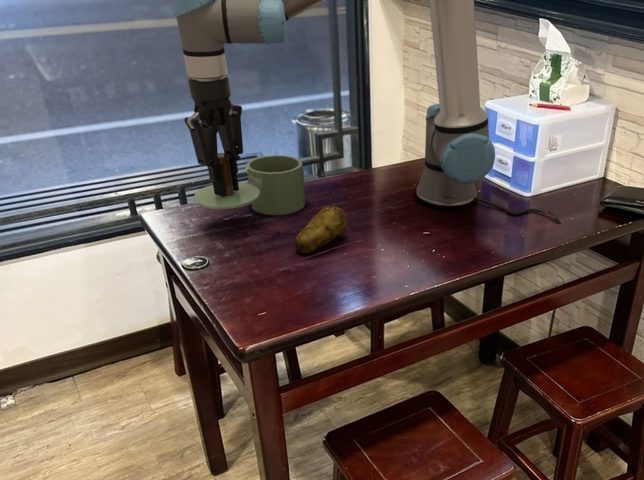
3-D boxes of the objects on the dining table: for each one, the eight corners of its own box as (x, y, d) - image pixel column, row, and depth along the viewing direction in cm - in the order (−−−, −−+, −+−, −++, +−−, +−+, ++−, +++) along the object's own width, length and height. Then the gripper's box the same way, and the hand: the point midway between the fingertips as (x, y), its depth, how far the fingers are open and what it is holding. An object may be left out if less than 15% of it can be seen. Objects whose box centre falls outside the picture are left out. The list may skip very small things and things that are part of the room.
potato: (285, 244, 131) (282, 210, 127) (340, 232, 137) (338, 198, 133) (301, 261, 125) (298, 225, 121) (357, 247, 131) (356, 212, 127)
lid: (272, 200, 132) (266, 156, 127) (213, 217, 124) (204, 171, 119) (241, 182, 140) (235, 140, 135) (184, 197, 133) (175, 153, 127)
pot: (315, 208, 148) (312, 165, 142) (269, 221, 141) (264, 177, 135) (287, 192, 155) (283, 151, 150) (242, 204, 148) (236, 162, 142)
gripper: (224, 67, 126) (240, 177, 139) (160, 82, 114) (185, 200, 127) (251, 72, 123) (266, 184, 136) (189, 87, 111) (211, 208, 124)
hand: (226, 191), depth 132 cm, fingers closed on lid, 3 cm apart
